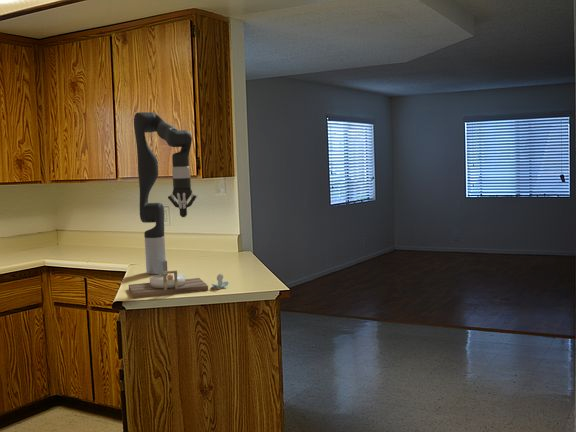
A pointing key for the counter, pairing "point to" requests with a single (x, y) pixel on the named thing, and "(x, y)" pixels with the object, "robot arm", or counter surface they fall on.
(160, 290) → the stand
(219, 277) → the pacifier
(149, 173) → the robot arm
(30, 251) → the counter surface
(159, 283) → the cam foot
